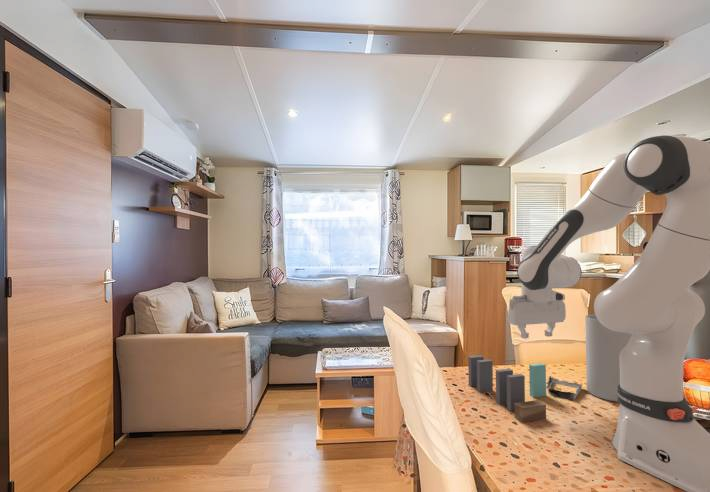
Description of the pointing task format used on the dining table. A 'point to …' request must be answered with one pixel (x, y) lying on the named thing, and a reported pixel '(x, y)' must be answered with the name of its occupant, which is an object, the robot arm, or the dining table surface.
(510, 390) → the domino
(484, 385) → the domino
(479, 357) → the domino
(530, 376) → the teal domino
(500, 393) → the domino
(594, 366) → the cylinder vase
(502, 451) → the dining table surface
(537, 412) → the end block
